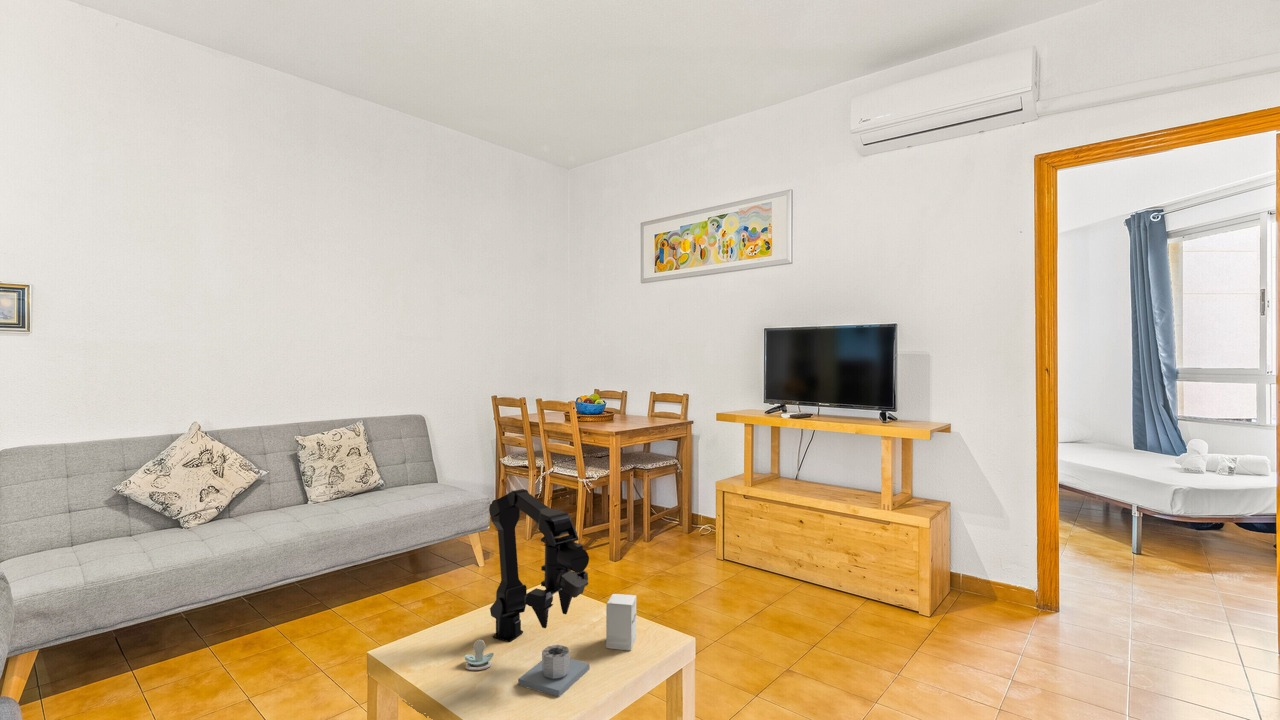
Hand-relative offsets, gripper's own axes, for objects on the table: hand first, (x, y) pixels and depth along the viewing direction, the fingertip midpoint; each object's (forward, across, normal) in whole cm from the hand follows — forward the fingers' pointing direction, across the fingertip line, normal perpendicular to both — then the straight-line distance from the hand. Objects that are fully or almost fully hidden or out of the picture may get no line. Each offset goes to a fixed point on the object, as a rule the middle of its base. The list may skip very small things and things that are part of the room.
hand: (554, 620), depth 155 cm
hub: (+9, -6, -5) cm, 12 cm away
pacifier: (+12, -10, +17) cm, 23 cm away
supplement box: (+12, +18, -10) cm, 24 cm away
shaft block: (+11, -5, -4) cm, 13 cm away
